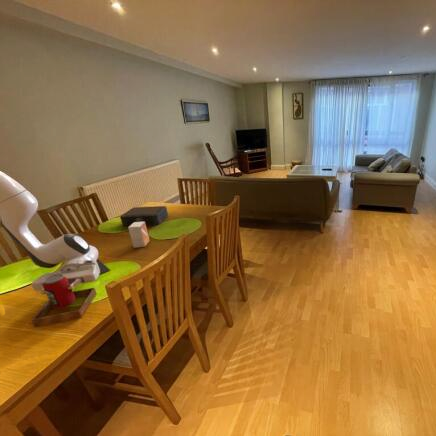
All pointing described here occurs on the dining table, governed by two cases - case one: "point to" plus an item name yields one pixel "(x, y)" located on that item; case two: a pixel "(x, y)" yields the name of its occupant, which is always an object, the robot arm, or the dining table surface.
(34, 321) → the brown wooden frame
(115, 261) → the dining table surface
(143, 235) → the small box
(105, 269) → the rubber mat
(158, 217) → the cash box
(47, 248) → the robot arm
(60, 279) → the beverage can
